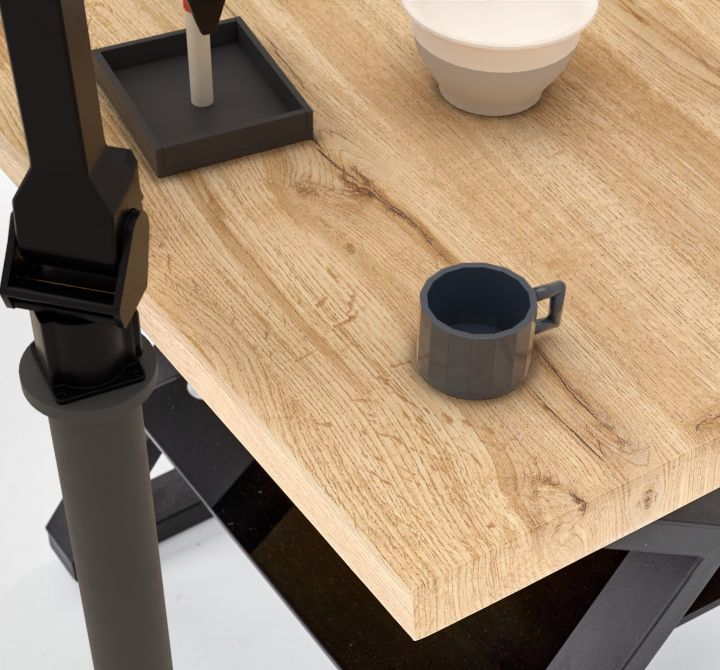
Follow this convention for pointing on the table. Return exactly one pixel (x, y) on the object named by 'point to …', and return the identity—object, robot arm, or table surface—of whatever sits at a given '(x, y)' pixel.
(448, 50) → the bowl
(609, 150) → the table surface
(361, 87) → the table surface
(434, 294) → the mug
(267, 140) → the tray
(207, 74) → the marker
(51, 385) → the robot arm
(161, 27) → the table surface
